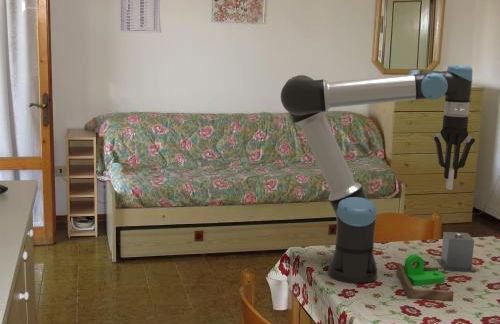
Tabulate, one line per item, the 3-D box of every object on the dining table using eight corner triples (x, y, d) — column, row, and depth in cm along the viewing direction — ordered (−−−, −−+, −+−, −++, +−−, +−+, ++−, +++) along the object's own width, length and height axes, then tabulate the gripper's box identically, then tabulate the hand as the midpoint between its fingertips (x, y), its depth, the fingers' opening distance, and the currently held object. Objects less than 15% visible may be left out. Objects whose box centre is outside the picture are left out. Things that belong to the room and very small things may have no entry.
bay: (408, 298, 191) (408, 288, 190) (396, 272, 212) (397, 263, 211) (452, 300, 190) (453, 290, 189) (437, 274, 211) (437, 265, 210)
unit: (443, 270, 215) (446, 237, 213) (437, 260, 225) (440, 228, 223) (475, 272, 214) (478, 239, 212) (467, 261, 224) (470, 230, 222)
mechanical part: (413, 286, 200) (416, 261, 199) (403, 279, 206) (405, 254, 205) (448, 283, 204) (450, 258, 203) (436, 276, 210) (439, 252, 208)
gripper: (437, 115, 205) (430, 190, 210) (480, 117, 205) (472, 192, 209) (432, 112, 213) (426, 185, 217) (474, 114, 212) (466, 187, 216)
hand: (449, 188), depth 213 cm, fingers closed
